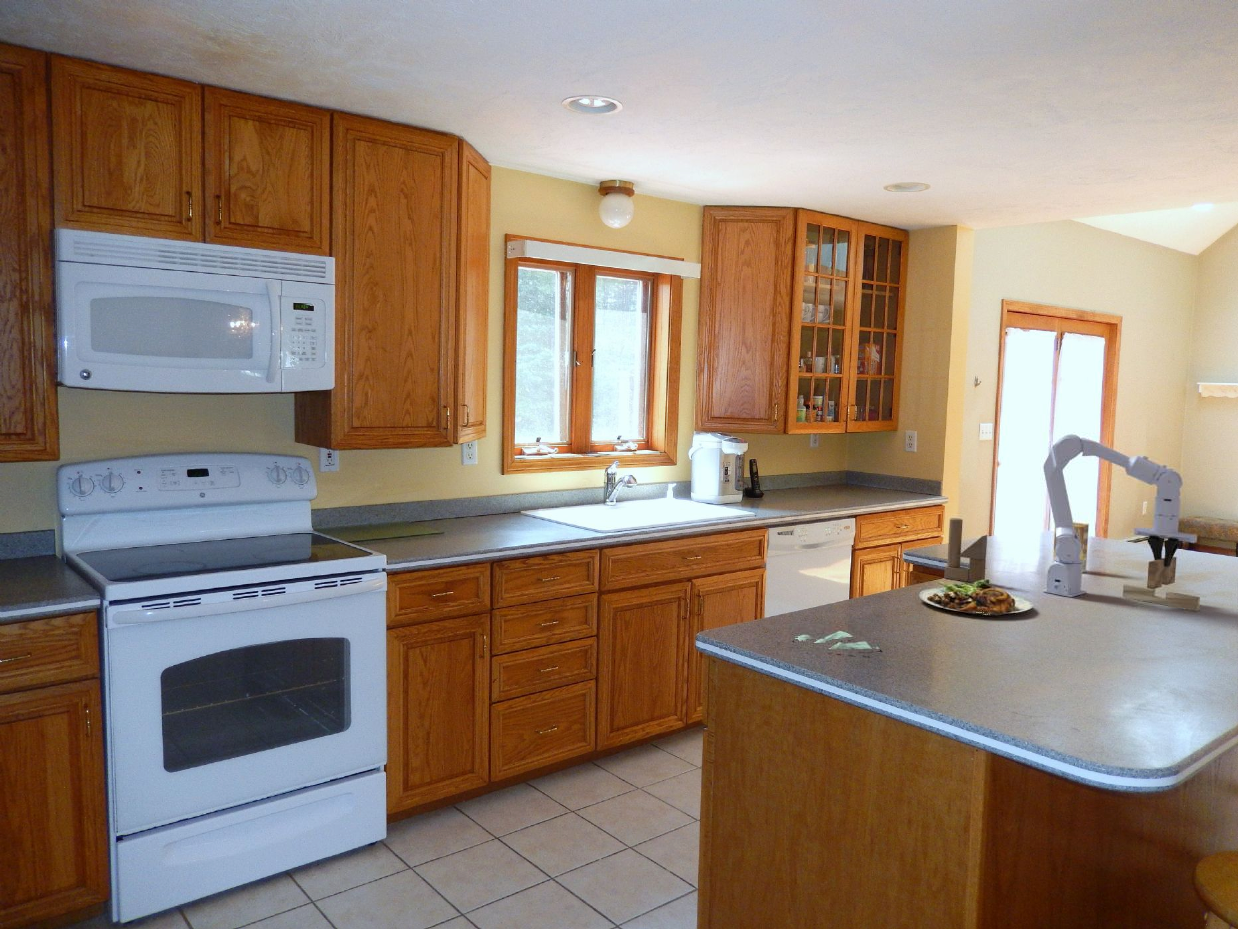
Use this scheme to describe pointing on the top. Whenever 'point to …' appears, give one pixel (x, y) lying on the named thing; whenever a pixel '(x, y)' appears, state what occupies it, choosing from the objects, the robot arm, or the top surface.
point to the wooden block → (965, 555)
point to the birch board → (1170, 599)
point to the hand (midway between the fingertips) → (1162, 565)
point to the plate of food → (975, 598)
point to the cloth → (839, 645)
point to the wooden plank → (1161, 573)
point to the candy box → (1083, 536)
